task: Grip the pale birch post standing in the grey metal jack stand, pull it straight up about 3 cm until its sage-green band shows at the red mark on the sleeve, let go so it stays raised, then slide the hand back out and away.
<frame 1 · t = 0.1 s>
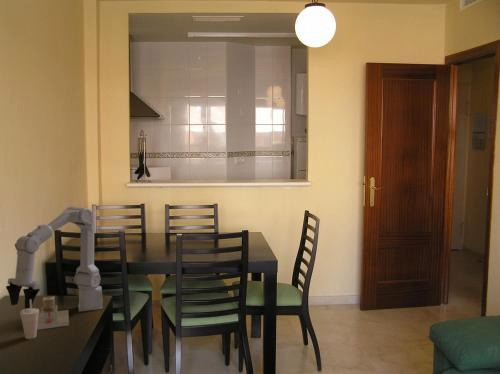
hand: (21, 306, 169), 11 cm above the table, tool pointing down, fingers open, 7 cm apart
post: (49, 308, 181), point 6 cm above the table, slide at 0.0 cm
smoothie: (30, 337, 167), on the table, touching gripper
jack base: (49, 321, 181), on the table
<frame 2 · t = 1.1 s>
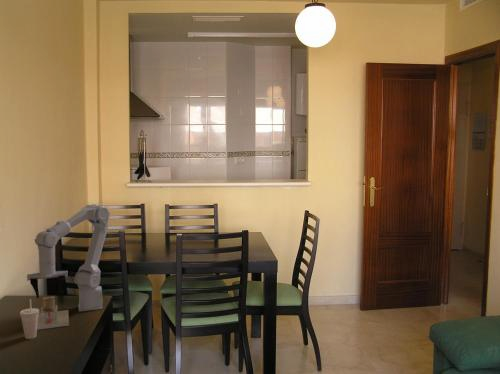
hand: (48, 296, 181), 10 cm above the table, tool pointing down, fingers open, 7 cm apart
smoothie: (30, 337, 167), on the table
everything else where it was.
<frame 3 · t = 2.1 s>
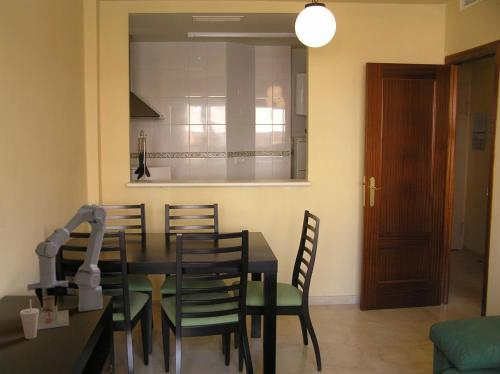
hand: (49, 306, 181), 6 cm above the table, tool pointing down, fingers closed on post, 4 cm apart
post: (49, 308, 181), point 6 cm above the table, slide at 0.0 cm, touching gripper
everything else where it was.
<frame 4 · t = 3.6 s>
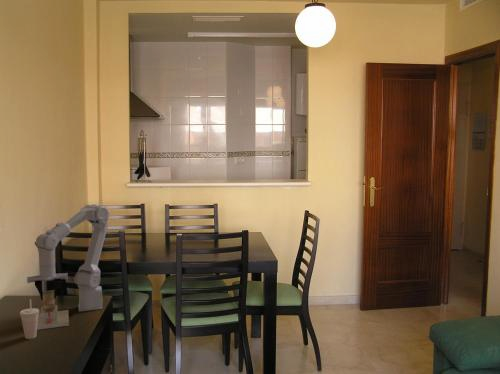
hand: (48, 298, 181), 9 cm above the table, tool pointing down, fingers closed on post, 4 cm apart
post: (48, 302, 181), point 8 cm above the table, slide at 2.5 cm, touching gripper
everything else where it was.
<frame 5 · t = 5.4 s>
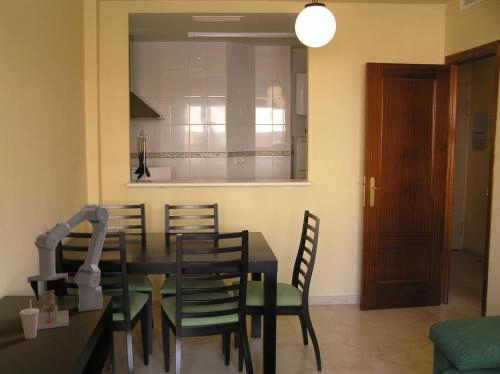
hand: (48, 298, 181), 9 cm above the table, tool pointing down, fingers open, 7 cm apart
post: (48, 302, 181), point 8 cm above the table, slide at 2.5 cm
everything else where it was.
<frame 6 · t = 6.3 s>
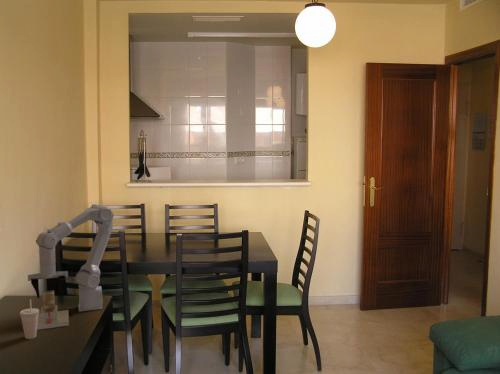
hand: (49, 296, 184), 9 cm above the table, tool pointing down, fingers open, 7 cm apart
nothing on the table moved.
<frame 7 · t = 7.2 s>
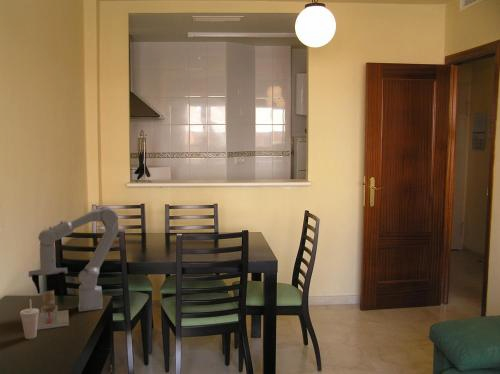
hand: (49, 291, 189), 9 cm above the table, tool pointing down, fingers open, 7 cm apart
nothing on the table moved.
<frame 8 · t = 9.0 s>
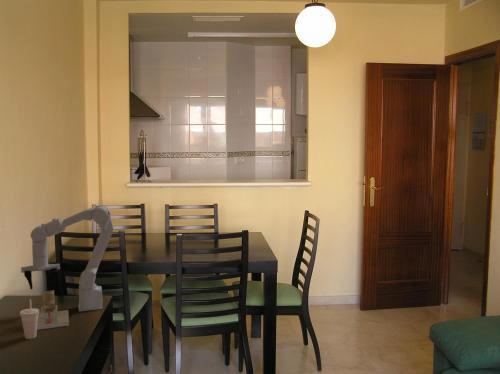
hand: (41, 287, 191), 10 cm above the table, tool pointing down, fingers open, 7 cm apart
nothing on the table moved.
at the end: post slide at 2.5 cm; the gripper is holding nothing; smoothie moved 0.2 cm from its start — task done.
